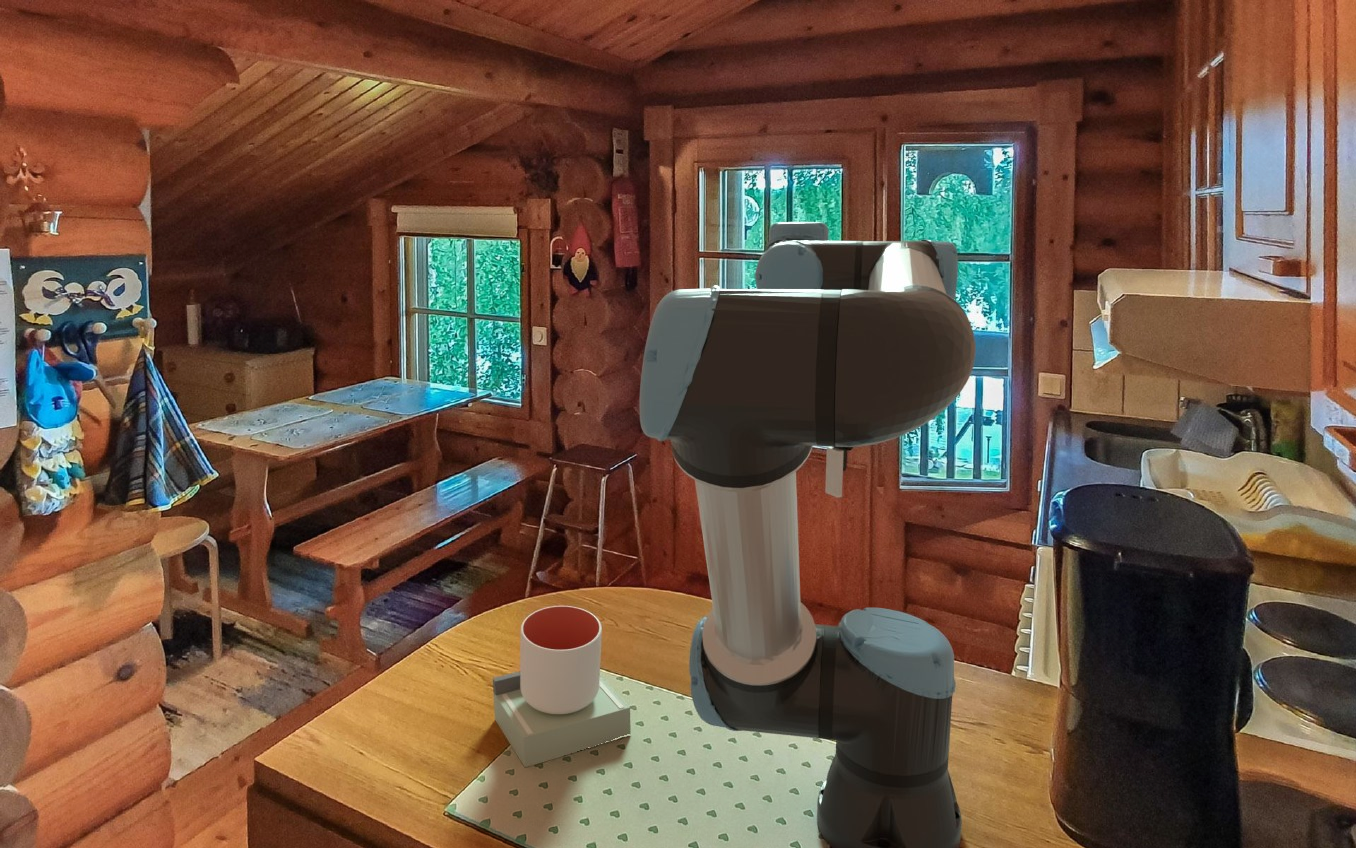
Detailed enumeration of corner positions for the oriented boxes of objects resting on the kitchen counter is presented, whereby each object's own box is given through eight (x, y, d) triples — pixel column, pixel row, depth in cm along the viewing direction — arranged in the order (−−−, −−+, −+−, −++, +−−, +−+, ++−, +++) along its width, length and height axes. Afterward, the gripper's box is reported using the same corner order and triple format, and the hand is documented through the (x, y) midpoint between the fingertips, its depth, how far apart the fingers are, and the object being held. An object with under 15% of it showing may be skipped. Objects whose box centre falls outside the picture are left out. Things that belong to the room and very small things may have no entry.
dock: (630, 735, 115) (629, 693, 114) (524, 767, 109) (522, 722, 107) (593, 693, 126) (592, 653, 124) (495, 719, 119) (492, 678, 118)
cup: (608, 677, 120) (611, 612, 116) (585, 726, 111) (588, 657, 107) (536, 664, 122) (536, 599, 118) (508, 711, 112) (508, 643, 109)
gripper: (854, 334, 125) (849, 481, 130) (697, 348, 114) (697, 509, 119) (891, 341, 119) (883, 495, 124) (728, 356, 108) (727, 526, 112)
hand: (792, 502), depth 121 cm, fingers open, 13 cm apart
